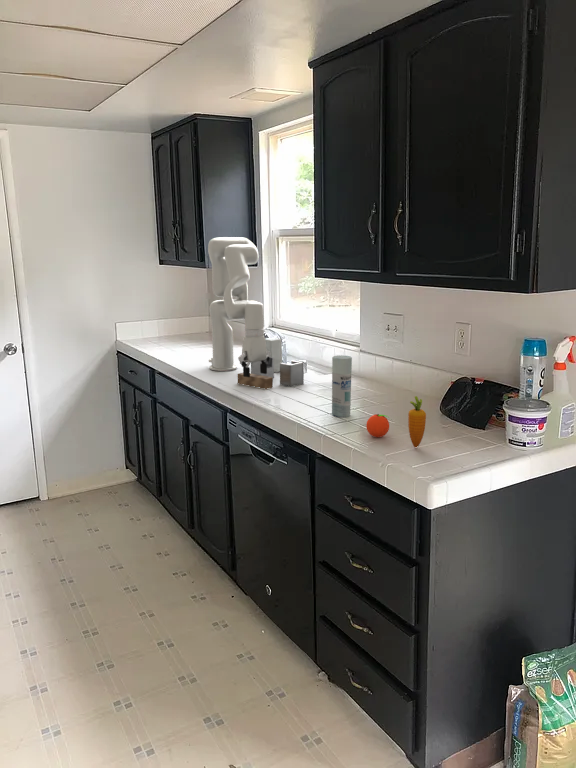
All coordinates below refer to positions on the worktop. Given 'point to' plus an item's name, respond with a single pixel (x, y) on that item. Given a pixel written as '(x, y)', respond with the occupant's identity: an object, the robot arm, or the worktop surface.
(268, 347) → the skincare box
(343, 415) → the spray paint can
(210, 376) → the worktop surface
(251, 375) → the walnut rail
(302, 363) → the brackets
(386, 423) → the clementine
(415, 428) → the carrot
